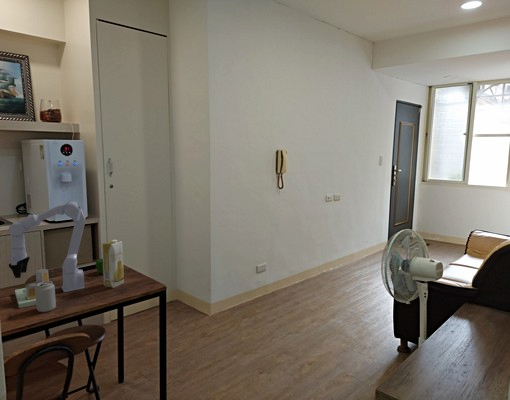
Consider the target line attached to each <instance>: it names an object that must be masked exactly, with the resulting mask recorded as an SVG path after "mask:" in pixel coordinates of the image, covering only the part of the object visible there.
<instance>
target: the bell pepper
mask: <svg viewBox="0 0 510 400" xmlns="http://www.w3.org/2000/svg"><path fill="white" fill-rule="evenodd" d="M95 267H96V270H97V272H98V274H101V275H102V274H103V257H102V258H97V259H96V262H95Z"/></svg>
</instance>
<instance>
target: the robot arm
mask: <svg viewBox="0 0 510 400" xmlns="http://www.w3.org/2000/svg"><path fill="white" fill-rule="evenodd" d="M56 215H62V216H64V215H66V216H67V217H69V218H71V219H72V221H73V222H74V226H73V230H72V233H71V238H70V242H69V243H70V244H69V246H68V250H67V254H66V257H65V258H64V260H63V264H62V265H61V268H62V271H61V272H62V285H61V289H62V291H63V293H67V292H73V291H77V290H83V289H85V288H86V287H85V276H84V275H85V274H84V271H83V269H79V268H78V267H77V265H78V258H77V257H78V253H79V249H80V245H81V241H82V236H83V234H84V233H83V232H84V228H85V224H86V217H85V216H86V215H85V214H84V212H83V210H82V206H81V205H80V204H79V203H78V202H77V201H75V200H69V201H67V202H63V203H60V204H58V205H56V206H54V207H51V208H50V209H48V210H46V211H44V212H42V213H39V214H28V215H27V217H24V218H23V219H17V221H15V222H13V223H12V224H11V225H10V226H9V227H8V229H7V231H8V233H9V236H10V249H11V250H10V251H11V256H9V258H8V259H9V260H10V263H9V264H8V268H9V269H10V270H11V271H12V274H13V276H14V279H20V278H21V276H22V274H23V273H27V269H28V265H29V262H30V259H31V257H30V256H28V252H27V251H26V241H25V240H26V238H25V232H28V231H30V230H32V229H34V228H36V227H38V226H40V225H41V223H42V221H45V220H46V219H49V218H51V217H53V216H56Z"/></svg>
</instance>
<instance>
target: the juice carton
mask: <svg viewBox="0 0 510 400" xmlns="http://www.w3.org/2000/svg"><path fill="white" fill-rule="evenodd" d="M101 249H102V251H101V252H102V254H101V255H102V258H103V276H102V277H103V286H104V287H107V288H113V289H114V288H116V287H119V286H121V285H122V284H124V282H125V278H124V276H125V275H124V274H125V273H124V272H125V271H124V250H123V241H121V240H118V239H112V240H110V241H107V242H103V243H101Z"/></svg>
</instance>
